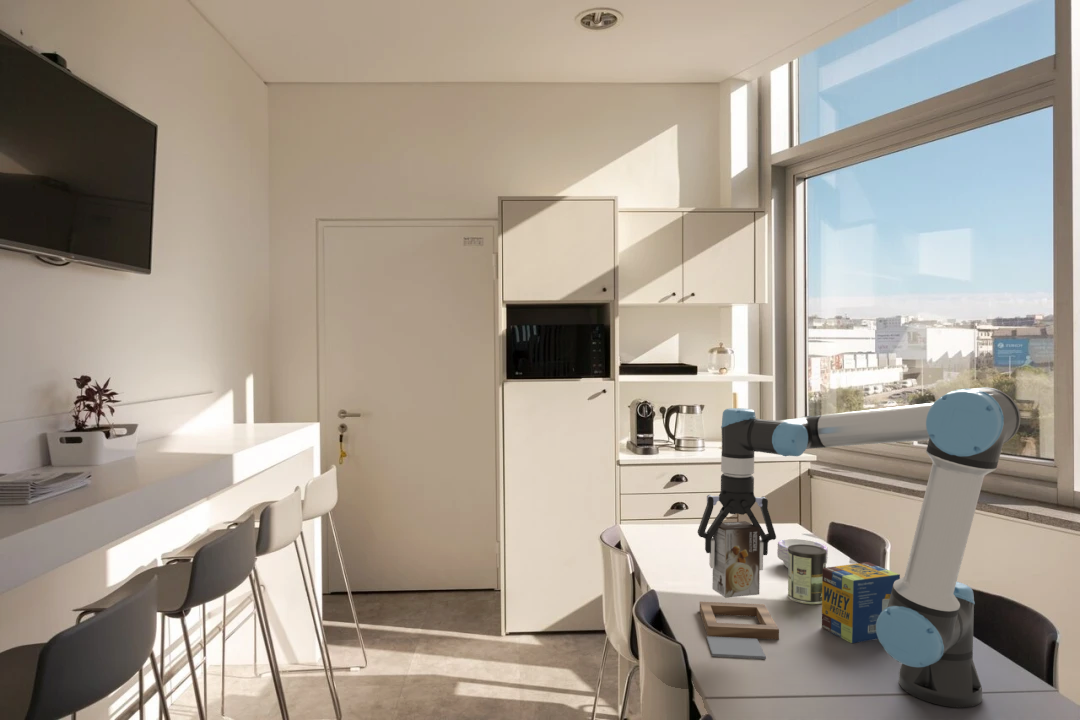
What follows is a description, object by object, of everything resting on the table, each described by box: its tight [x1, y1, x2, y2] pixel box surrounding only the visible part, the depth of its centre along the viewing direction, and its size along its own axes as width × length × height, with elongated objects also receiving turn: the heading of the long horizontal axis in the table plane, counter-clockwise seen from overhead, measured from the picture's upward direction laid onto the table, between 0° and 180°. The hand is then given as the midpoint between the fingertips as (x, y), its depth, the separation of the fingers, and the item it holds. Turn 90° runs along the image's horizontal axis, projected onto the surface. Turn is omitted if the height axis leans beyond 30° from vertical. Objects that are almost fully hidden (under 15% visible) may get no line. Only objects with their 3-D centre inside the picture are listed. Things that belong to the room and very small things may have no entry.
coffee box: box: [711, 520, 761, 599], centre depth 168 cm, size 9×6×16 cm
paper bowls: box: [777, 537, 829, 569], centre depth 230 cm, size 15×15×8 cm
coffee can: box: [787, 544, 827, 605], centre depth 203 cm, size 10×10×14 cm
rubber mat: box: [706, 635, 767, 660], centre depth 169 cm, size 10×12×1 cm
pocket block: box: [699, 601, 780, 640], centre depth 183 cm, size 17×17×2 cm
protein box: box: [821, 561, 901, 644], centre depth 179 cm, size 10×15×16 cm
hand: (735, 567), depth 168 cm, fingers closed on coffee box, 10 cm apart
